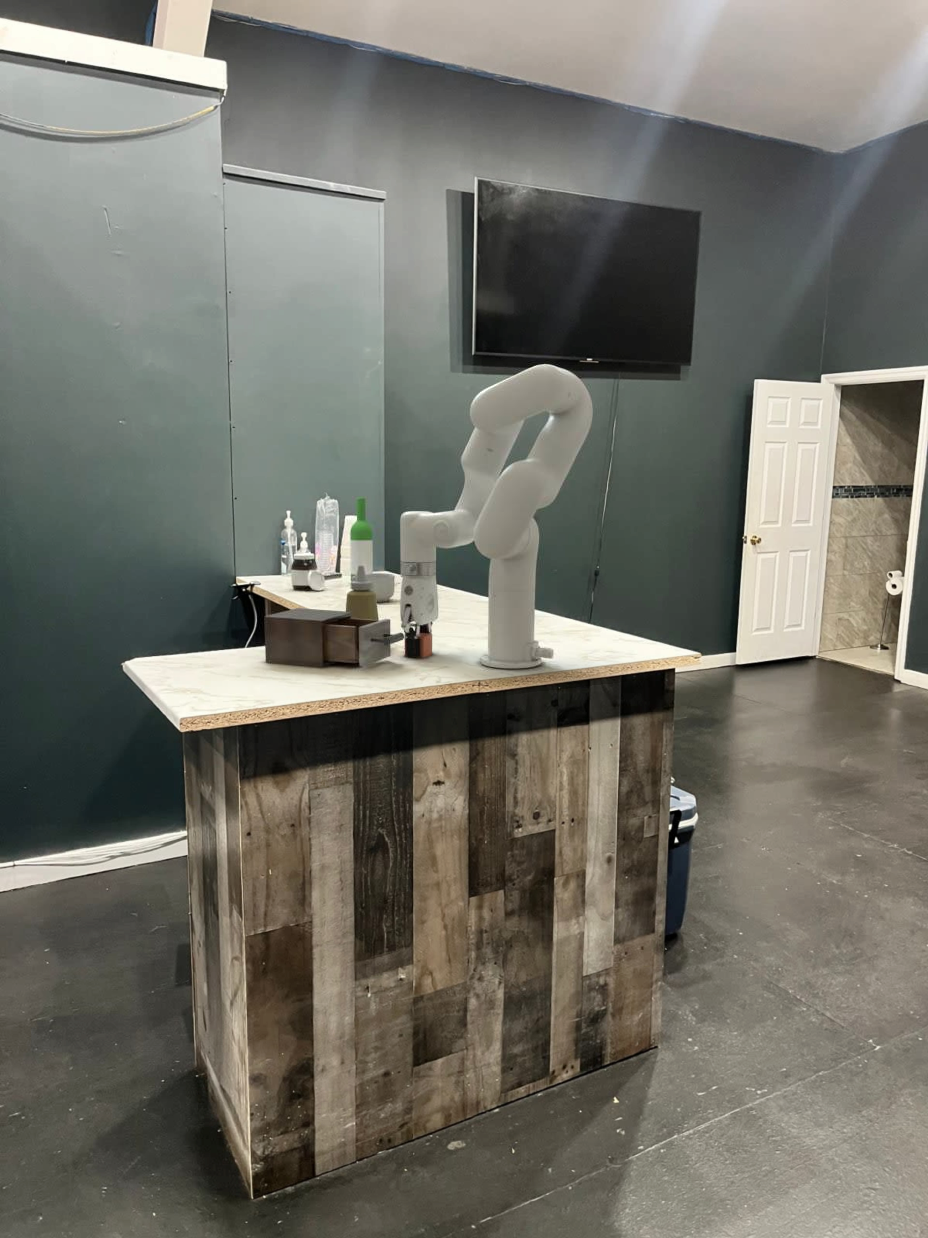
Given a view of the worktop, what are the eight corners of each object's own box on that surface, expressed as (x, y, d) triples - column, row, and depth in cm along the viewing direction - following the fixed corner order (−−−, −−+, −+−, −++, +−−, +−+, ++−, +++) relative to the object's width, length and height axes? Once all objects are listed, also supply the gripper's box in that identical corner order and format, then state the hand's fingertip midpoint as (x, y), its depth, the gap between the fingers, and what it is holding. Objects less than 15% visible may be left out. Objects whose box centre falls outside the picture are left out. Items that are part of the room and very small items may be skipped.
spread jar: (298, 587, 314) (297, 552, 313) (330, 587, 313) (329, 553, 311) (286, 591, 303) (286, 556, 301) (320, 592, 301) (319, 556, 299)
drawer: (409, 657, 191) (409, 620, 189) (384, 668, 180) (384, 629, 179) (338, 651, 197) (337, 615, 196) (310, 661, 186) (309, 623, 185)
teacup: (402, 600, 283) (401, 574, 282) (380, 604, 274) (380, 577, 273) (366, 596, 290) (366, 571, 289) (344, 600, 281) (343, 574, 280)
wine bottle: (348, 584, 322) (346, 498, 317) (354, 582, 329) (353, 497, 325) (369, 585, 320) (368, 498, 316) (375, 582, 328) (374, 497, 323)
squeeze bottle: (373, 648, 205) (373, 568, 202) (339, 647, 207) (337, 567, 204) (384, 642, 213) (383, 564, 210) (350, 640, 214) (349, 563, 212)
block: (432, 654, 199) (432, 633, 198) (423, 658, 195) (423, 637, 194) (413, 652, 201) (413, 632, 200) (404, 656, 197) (404, 635, 196)
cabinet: (353, 656, 196) (352, 611, 195) (322, 667, 185) (321, 620, 183) (298, 651, 201) (297, 608, 200) (265, 662, 190) (264, 616, 188)
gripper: (417, 574, 186) (417, 663, 189) (450, 567, 201) (450, 649, 204) (384, 573, 189) (384, 660, 192) (419, 565, 204) (419, 646, 207)
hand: (418, 653), depth 198 cm, fingers open, 4 cm apart
